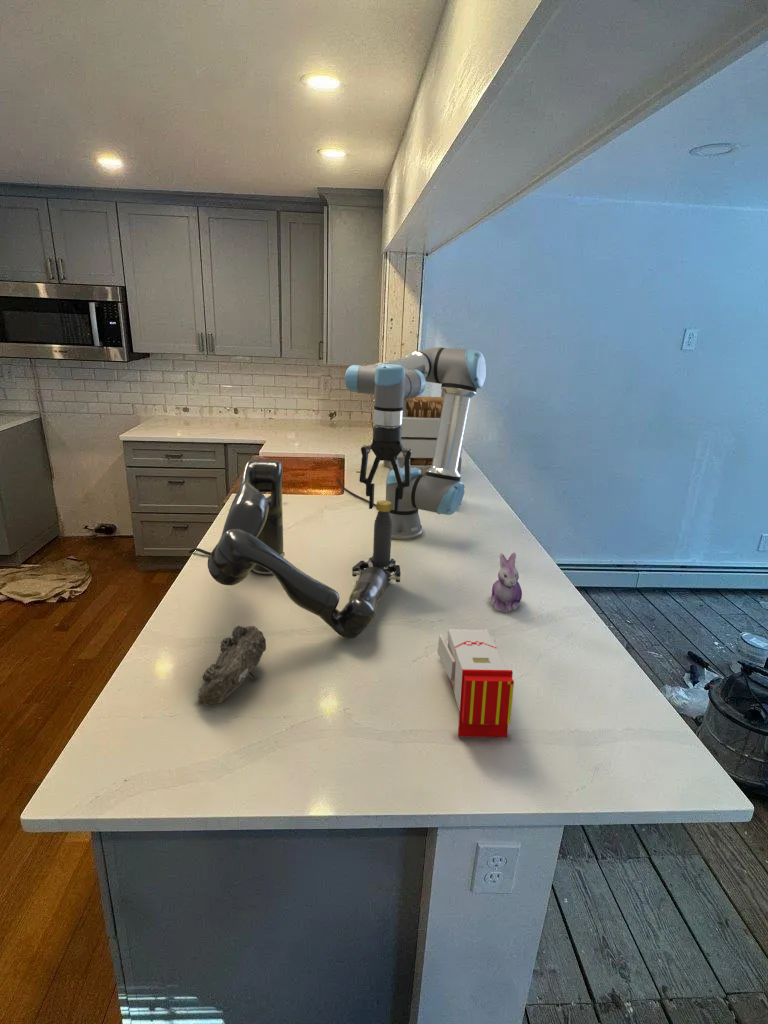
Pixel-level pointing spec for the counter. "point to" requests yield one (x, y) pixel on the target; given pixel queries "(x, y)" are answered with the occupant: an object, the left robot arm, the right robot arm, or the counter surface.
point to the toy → (478, 682)
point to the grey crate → (420, 430)
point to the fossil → (232, 664)
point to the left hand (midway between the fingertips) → (383, 560)
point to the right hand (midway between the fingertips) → (383, 508)
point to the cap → (383, 506)
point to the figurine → (506, 586)
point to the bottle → (382, 540)
